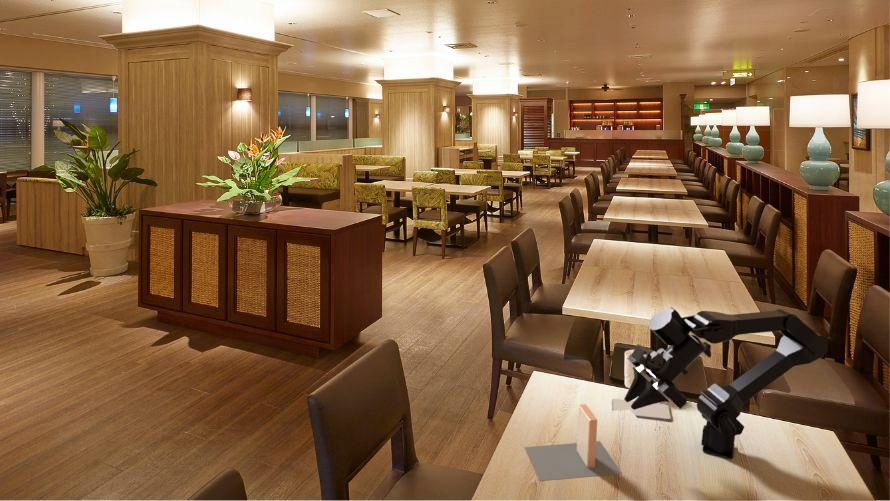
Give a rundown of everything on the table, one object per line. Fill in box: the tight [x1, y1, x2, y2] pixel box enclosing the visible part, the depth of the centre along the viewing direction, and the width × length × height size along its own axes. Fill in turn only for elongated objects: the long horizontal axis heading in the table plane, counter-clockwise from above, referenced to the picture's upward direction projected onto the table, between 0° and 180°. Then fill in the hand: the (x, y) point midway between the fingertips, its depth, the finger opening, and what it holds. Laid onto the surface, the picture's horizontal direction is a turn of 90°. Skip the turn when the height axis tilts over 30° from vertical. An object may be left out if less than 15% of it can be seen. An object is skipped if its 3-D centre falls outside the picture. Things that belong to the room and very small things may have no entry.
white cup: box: [623, 348, 636, 389], centre depth 165 cm, size 8×8×10 cm
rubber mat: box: [524, 440, 623, 482], centre depth 130 cm, size 19×13×1 cm
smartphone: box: [611, 398, 673, 422], centre depth 153 cm, size 8×1×15 cm
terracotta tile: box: [576, 403, 598, 468], centre depth 129 cm, size 2×7×12 cm, turn 7°
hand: (628, 404), depth 129 cm, fingers open, 3 cm apart
